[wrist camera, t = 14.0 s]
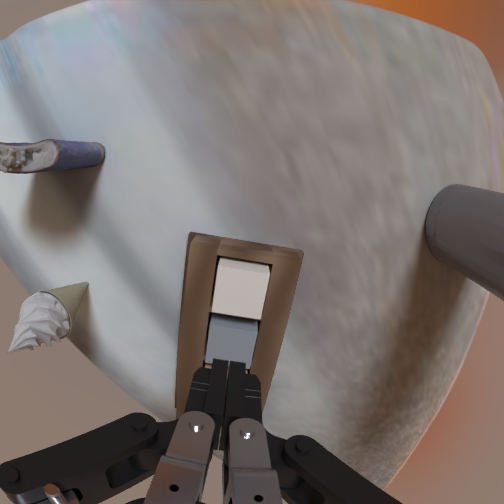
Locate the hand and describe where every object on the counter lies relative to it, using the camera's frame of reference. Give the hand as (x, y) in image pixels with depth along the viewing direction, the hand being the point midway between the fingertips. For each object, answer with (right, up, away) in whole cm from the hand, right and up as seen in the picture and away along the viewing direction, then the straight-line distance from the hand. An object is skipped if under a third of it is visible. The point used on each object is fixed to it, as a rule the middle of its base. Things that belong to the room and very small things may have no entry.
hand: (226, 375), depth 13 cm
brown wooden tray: (-1, -4, +20) cm, 20 cm away
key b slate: (-1, -2, +16) cm, 17 cm away
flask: (-18, +16, +14) cm, 28 cm away
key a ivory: (0, +3, +15) cm, 15 cm away
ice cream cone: (-17, +2, +18) cm, 25 cm away
